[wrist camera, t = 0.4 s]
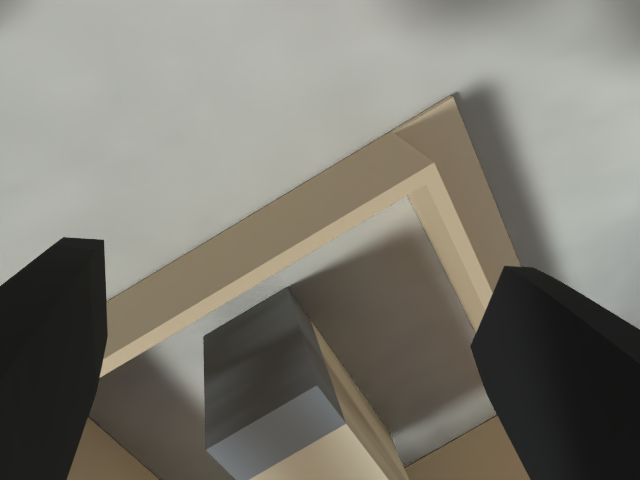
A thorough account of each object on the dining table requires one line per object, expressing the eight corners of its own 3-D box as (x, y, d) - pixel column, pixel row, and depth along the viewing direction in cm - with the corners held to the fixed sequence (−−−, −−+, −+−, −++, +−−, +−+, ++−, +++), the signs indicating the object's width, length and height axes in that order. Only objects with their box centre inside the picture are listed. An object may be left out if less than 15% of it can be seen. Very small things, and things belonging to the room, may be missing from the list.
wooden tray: (205, 588, 28) (205, 674, 25) (-48, 394, 20) (-100, 479, 17) (565, 383, 27) (620, 442, 24) (449, 95, 19) (506, 119, 16)
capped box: (318, 469, 26) (349, 592, 21) (203, 336, 21) (205, 450, 16) (387, 430, 26) (436, 542, 21) (287, 287, 21) (317, 385, 16)
